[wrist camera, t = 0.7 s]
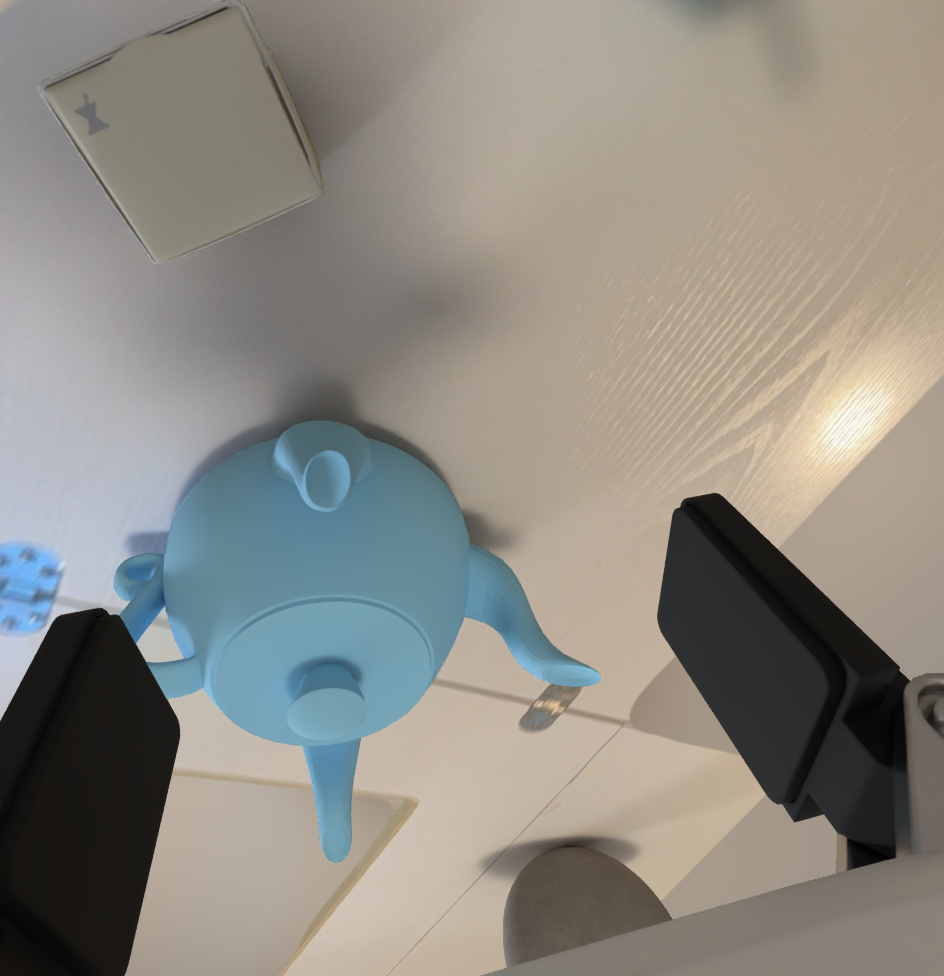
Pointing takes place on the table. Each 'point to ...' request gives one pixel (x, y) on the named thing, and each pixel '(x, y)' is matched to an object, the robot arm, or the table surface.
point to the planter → (574, 904)
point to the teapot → (325, 598)
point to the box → (189, 131)
